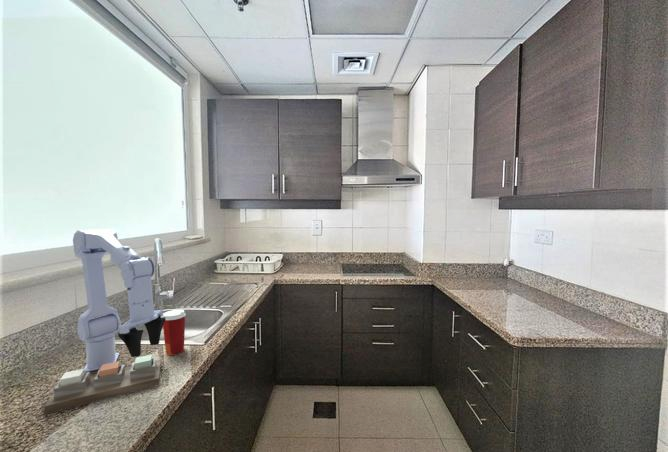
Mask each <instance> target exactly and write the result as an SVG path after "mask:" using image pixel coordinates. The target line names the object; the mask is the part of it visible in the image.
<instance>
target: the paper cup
mask: <svg viewBox="0 0 668 452" xmlns="http://www.w3.org/2000/svg"><path fill="white" fill-rule="evenodd" d="M186 316H187V314H186V312H185V310H184V309H173V310H168V311H165V312H163V316H162V317H165V319H166V321H165V322H164V325H163V327H162V331H163V339H164V340H163V341H164V349H165V354H166V355H167V356H174V355H179V354H180V353H181V354H182V353H183V352H184V351H185V350H184V349H185V330H186V329H185V327H186ZM162 317H161V318H162Z"/></svg>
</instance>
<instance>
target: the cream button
mask: <svg viewBox="0 0 668 452" xmlns="http://www.w3.org/2000/svg"><path fill="white" fill-rule="evenodd" d="M84 373H85V372H84V368H80V369H76V370H70V371H65V372H64V373H63V375H62V376H61V378H60V379H59V381H60V386H65V385H69V384H74V383H78V382H82V380H83V379H84V377H85V376H84Z"/></svg>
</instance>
